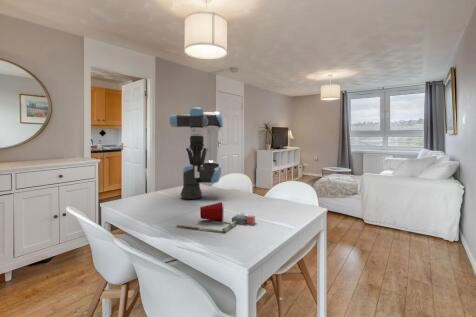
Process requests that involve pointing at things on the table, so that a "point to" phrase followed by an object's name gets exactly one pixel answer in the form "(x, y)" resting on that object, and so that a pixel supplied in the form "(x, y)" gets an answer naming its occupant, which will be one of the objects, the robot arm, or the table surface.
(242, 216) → the dome
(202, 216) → the plastic cup
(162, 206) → the table surface
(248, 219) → the dome housing
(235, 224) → the u-shaped frame
